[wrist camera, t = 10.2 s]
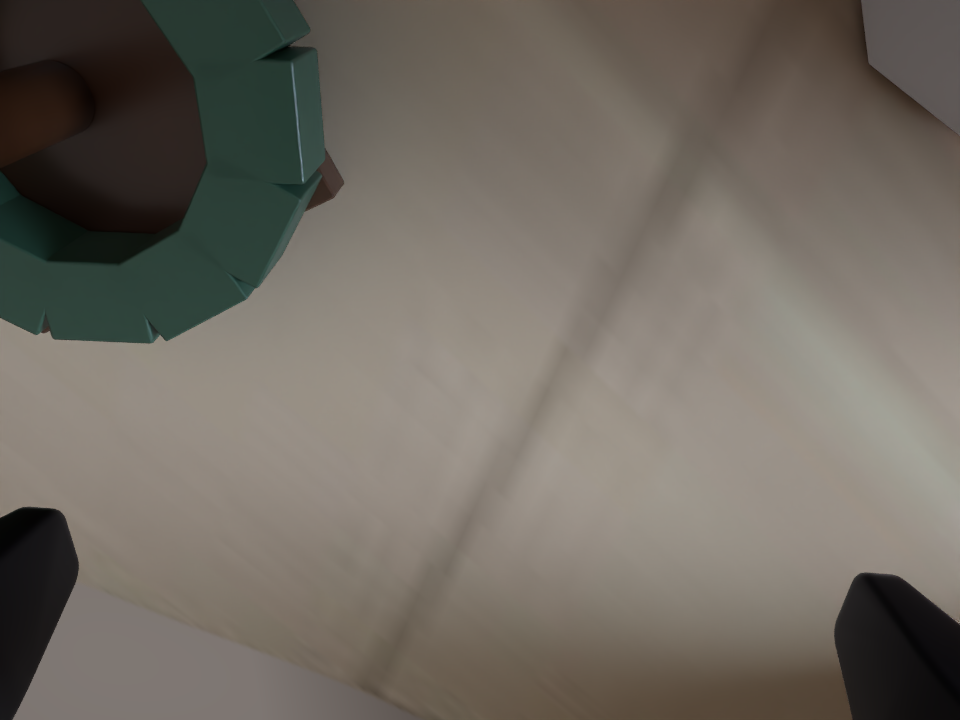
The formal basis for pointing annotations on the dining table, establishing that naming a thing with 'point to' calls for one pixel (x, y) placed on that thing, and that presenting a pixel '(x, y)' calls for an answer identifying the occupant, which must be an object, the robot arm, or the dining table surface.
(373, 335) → the dining table surface
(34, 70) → the peg stand
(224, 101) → the ring
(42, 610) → the robot arm
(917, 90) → the flask
